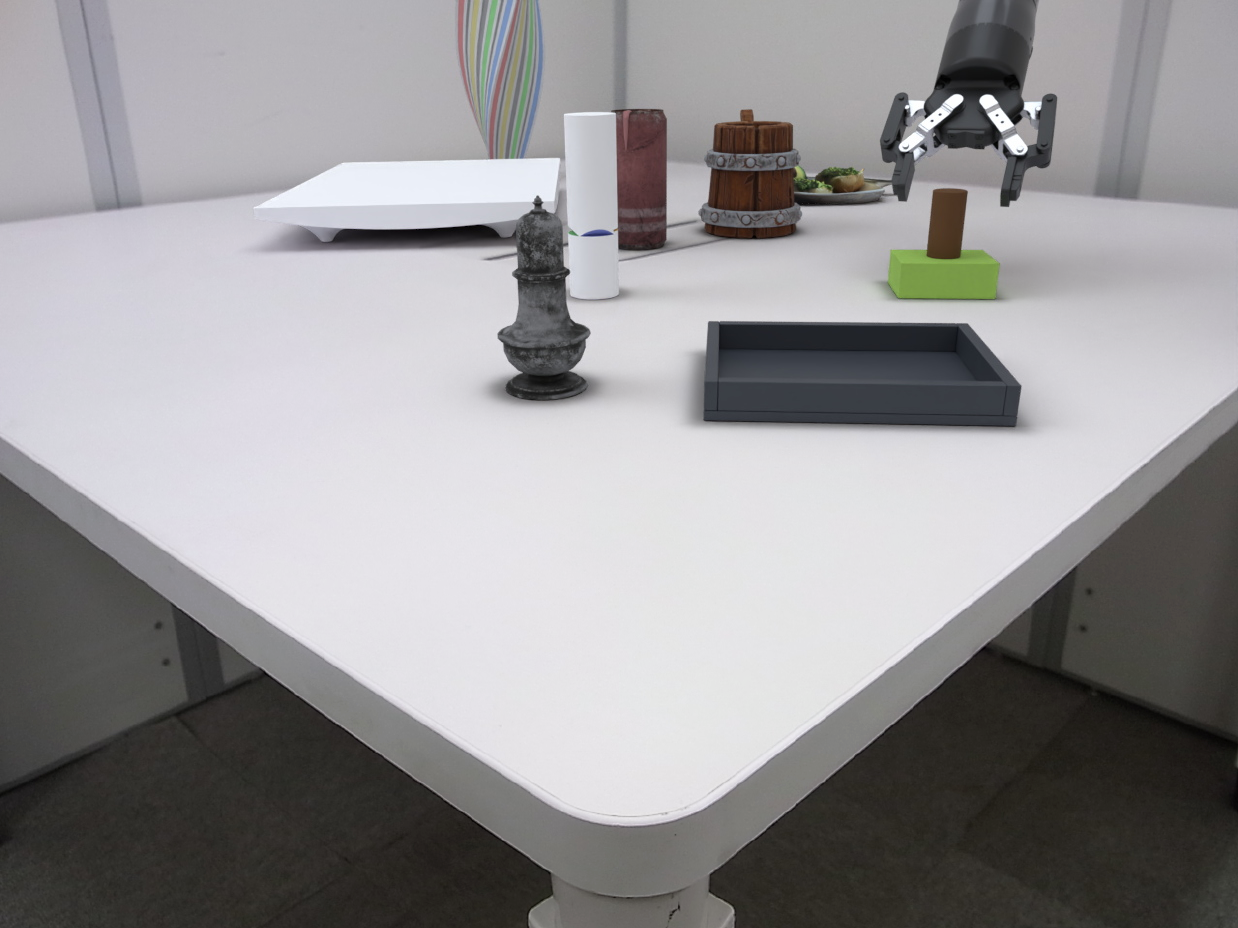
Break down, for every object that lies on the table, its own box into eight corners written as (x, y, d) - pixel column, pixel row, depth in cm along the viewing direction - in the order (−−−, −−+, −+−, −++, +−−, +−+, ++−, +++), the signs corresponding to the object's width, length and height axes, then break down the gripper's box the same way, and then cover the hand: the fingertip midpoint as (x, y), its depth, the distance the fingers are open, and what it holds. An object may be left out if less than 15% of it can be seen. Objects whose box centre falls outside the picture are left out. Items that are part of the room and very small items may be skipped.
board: (556, 245, 110) (554, 201, 109) (259, 252, 110) (252, 208, 108) (561, 190, 152) (560, 158, 150) (346, 195, 151) (342, 162, 149)
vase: (555, 174, 171) (547, -22, 159) (542, 184, 159) (532, -27, 147) (477, 174, 172) (463, -20, 161) (457, 185, 160) (441, -25, 148)
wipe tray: (963, 357, 69) (968, 323, 68) (1016, 426, 57) (1022, 385, 56) (707, 354, 71) (708, 320, 70) (703, 420, 59) (704, 381, 58)
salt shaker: (481, 387, 65) (468, 196, 60) (550, 367, 69) (543, 186, 64) (541, 408, 61) (531, 205, 56) (611, 385, 65) (607, 194, 60)
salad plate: (885, 187, 149) (888, 154, 148) (912, 204, 133) (916, 168, 131) (754, 188, 150) (755, 156, 149) (765, 206, 134) (766, 170, 132)
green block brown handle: (978, 283, 90) (990, 185, 87) (995, 299, 85) (1008, 195, 81) (887, 283, 91) (895, 186, 88) (898, 298, 85) (907, 195, 82)
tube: (587, 286, 92) (582, 111, 86) (627, 291, 89) (625, 112, 84) (560, 296, 88) (553, 115, 82) (602, 301, 86) (598, 116, 80)
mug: (701, 238, 111) (702, 95, 108) (694, 238, 125) (695, 111, 122) (808, 237, 111) (812, 93, 107) (789, 237, 125) (792, 110, 121)
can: (603, 250, 108) (600, 111, 102) (617, 239, 113) (615, 107, 108) (659, 251, 106) (659, 111, 101) (671, 240, 112) (671, 107, 107)
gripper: (903, 21, 91) (864, 167, 86) (1074, 17, 85) (1043, 173, 80) (909, 82, 98) (873, 220, 92) (1068, 82, 92) (1039, 230, 87)
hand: (952, 198), depth 86 cm, fingers open, 8 cm apart
